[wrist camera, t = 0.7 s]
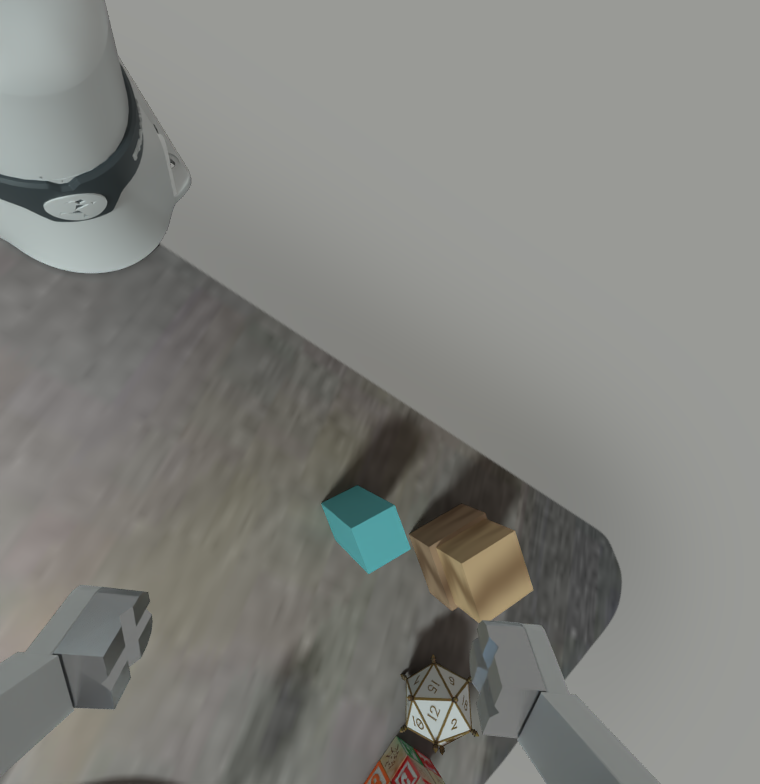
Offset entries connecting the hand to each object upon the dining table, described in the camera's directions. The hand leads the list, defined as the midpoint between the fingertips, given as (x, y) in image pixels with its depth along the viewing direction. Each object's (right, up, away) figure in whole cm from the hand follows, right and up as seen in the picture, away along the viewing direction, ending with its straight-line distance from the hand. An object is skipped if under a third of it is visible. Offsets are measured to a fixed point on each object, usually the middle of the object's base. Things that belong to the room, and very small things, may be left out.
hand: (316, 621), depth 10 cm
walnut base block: (+10, -14, +42) cm, 45 cm away
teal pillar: (-2, -8, +37) cm, 38 cm away
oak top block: (+12, -13, +37) cm, 41 cm away
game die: (+6, -29, +40) cm, 50 cm away
